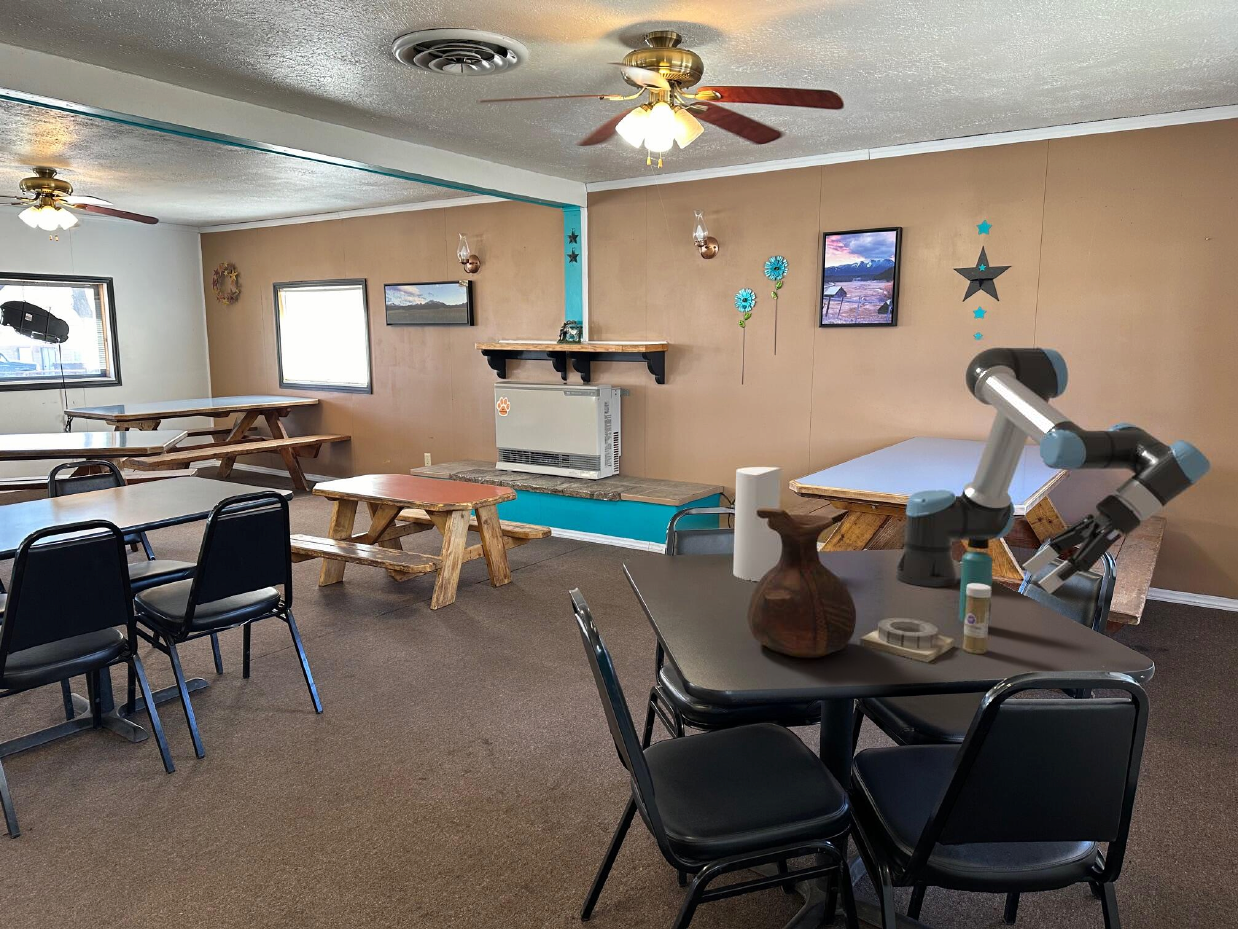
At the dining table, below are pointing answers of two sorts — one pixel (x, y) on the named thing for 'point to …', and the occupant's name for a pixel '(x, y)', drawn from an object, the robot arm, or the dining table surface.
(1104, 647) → the dining table surface
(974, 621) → the sprinkles bottle
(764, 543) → the white tall prism
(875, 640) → the plate
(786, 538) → the jug
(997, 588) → the dining table surface
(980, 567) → the beverage bottle
